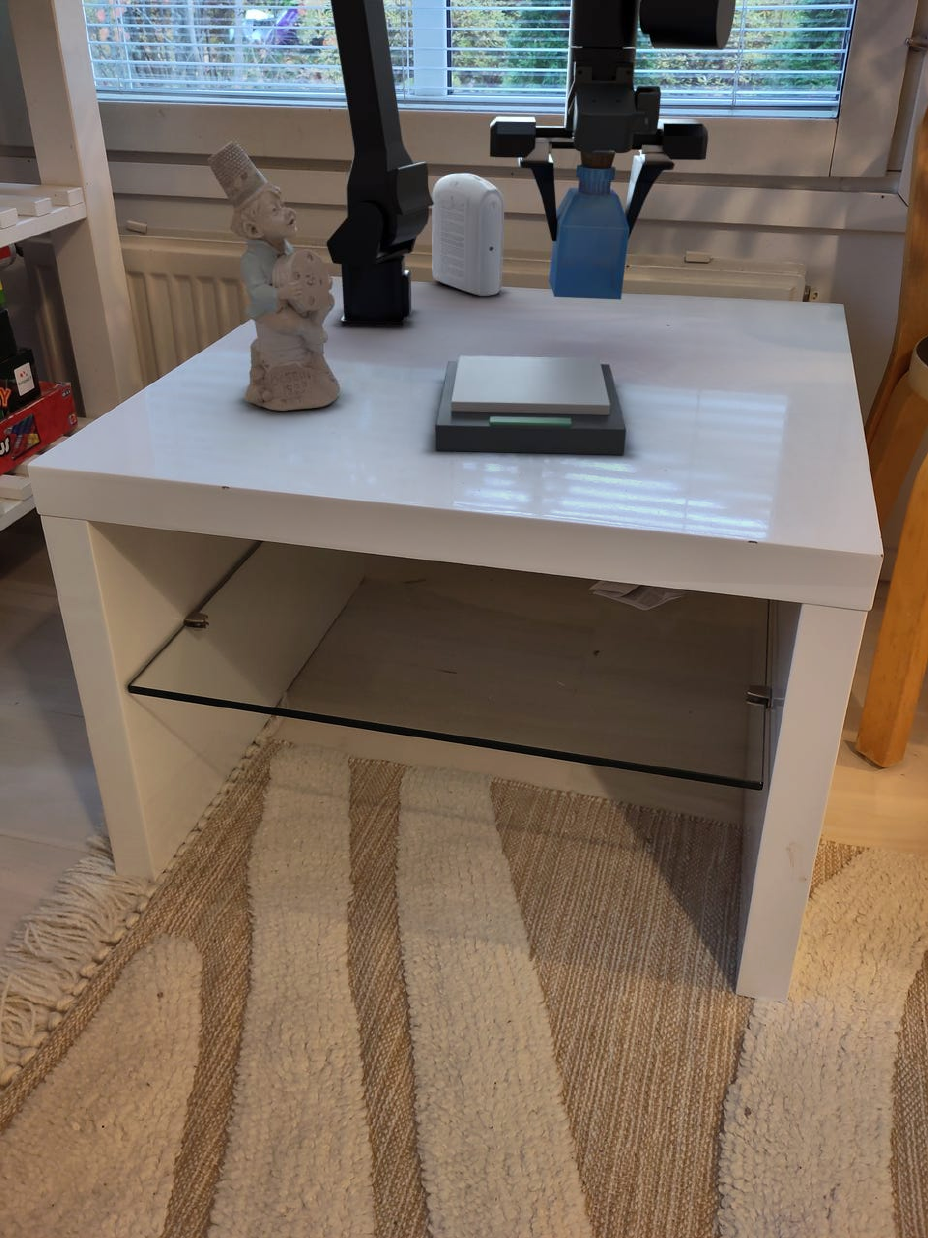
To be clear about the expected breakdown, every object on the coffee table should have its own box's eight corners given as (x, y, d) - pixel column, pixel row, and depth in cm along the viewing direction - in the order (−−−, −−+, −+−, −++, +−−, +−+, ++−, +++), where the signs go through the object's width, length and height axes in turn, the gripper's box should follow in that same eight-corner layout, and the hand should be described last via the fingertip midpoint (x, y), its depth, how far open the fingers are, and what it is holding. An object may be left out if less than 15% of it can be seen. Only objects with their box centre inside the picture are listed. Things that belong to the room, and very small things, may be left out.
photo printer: (507, 293, 118) (510, 178, 111) (477, 298, 115) (479, 181, 109) (456, 276, 125) (456, 167, 118) (427, 281, 123) (426, 170, 116)
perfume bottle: (621, 299, 93) (637, 157, 87) (554, 296, 93) (566, 154, 87) (612, 283, 99) (627, 148, 93) (549, 281, 99) (560, 145, 92)
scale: (435, 450, 76) (435, 414, 74) (448, 383, 89) (448, 351, 88) (623, 455, 75) (627, 418, 74) (607, 386, 89) (610, 354, 87)
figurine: (217, 406, 84) (184, 139, 73) (274, 377, 90) (251, 129, 80) (309, 422, 81) (288, 146, 70) (361, 391, 87) (349, 134, 77)
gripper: (491, 49, 79) (487, 258, 87) (732, 52, 79) (705, 261, 87) (492, 44, 88) (488, 233, 97) (706, 47, 88) (684, 235, 96)
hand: (589, 240), depth 94 cm, fingers closed on perfume bottle, 6 cm apart
